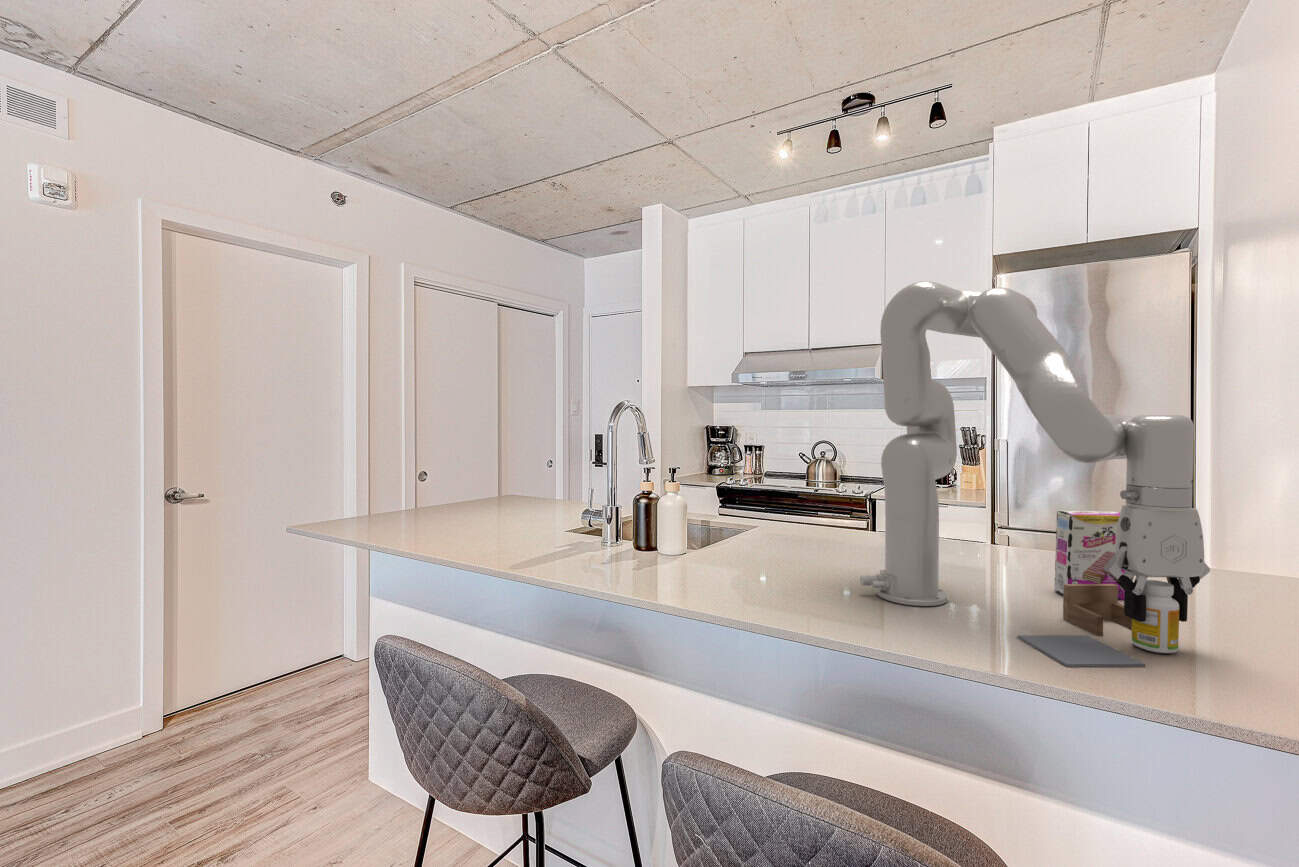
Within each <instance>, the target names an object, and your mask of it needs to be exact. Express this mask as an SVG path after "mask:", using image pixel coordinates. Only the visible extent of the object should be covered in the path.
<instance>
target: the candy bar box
mask: <svg viewBox="0 0 1299 867" xmlns="http://www.w3.org/2000/svg"><path fill="white" fill-rule="evenodd" d="M1119 516H1120V512H1118V511H1112V510H1111V511H1106V510H1103V511H1101V510H1063V509H1062V510H1060V509H1059V510H1056V531H1055V562H1054V563H1055V565H1054V592H1056V593H1057V594H1058V595H1061V596H1063V589H1064V584H1115V585H1118V601H1119V600H1121V601H1124V590H1122V589H1121V588H1120V585H1119V584H1118V583H1117V582H1116V581H1115V580H1114V579H1113V577H1111V576H1110V575H1109V574H1108V573H1106V572H1105V571H1104V569H1103V568H1104V566H1105V565H1106V564H1107V562H1108V561H1109V560H1110V559H1111V558H1112V557H1113V556H1114V555H1115V540H1116V532H1117V525H1118V520H1119ZM1121 571H1122V573H1123V574H1124V572H1125V570H1122V569H1121Z"/></svg>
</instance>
